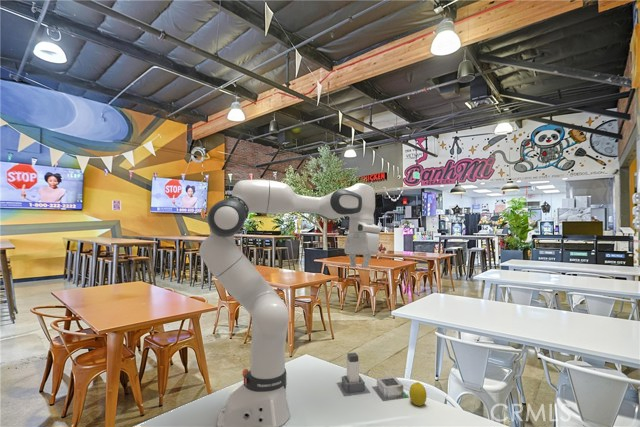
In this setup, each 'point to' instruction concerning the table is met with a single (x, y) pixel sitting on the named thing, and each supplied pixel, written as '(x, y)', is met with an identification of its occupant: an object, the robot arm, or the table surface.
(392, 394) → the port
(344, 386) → the holster
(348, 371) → the plug
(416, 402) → the lemon
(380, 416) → the table surface
